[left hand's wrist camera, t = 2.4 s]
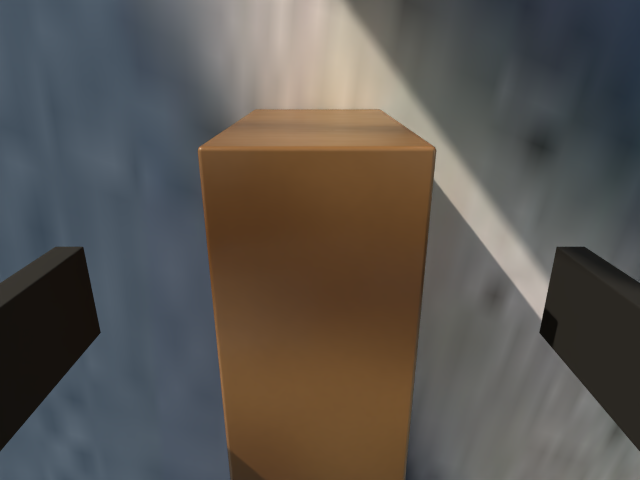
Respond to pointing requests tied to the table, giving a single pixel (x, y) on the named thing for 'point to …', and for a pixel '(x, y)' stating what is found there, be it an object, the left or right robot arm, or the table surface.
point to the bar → (317, 289)
